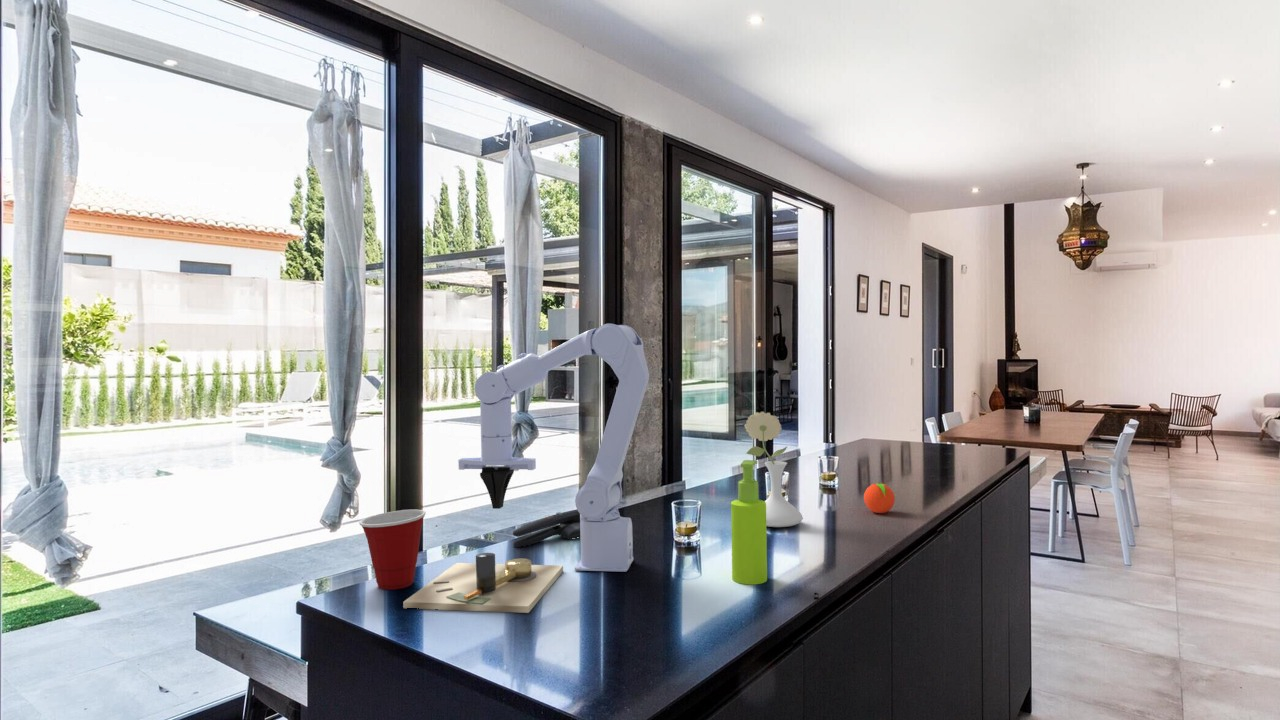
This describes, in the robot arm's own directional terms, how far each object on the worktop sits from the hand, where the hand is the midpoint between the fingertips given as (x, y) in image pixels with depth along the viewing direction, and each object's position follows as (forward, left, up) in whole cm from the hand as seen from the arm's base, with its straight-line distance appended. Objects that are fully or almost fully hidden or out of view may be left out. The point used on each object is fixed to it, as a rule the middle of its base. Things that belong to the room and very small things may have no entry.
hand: (497, 507), depth 141 cm
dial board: (-4, +17, -10) cm, 20 cm away
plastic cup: (+13, +16, -10) cm, 23 cm away
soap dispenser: (-47, +7, -10) cm, 49 cm away
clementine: (-77, -45, -10) cm, 90 cm away
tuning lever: (-6, +19, -8) cm, 21 cm away
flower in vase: (-52, -32, -10) cm, 62 cm away
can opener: (-6, -15, -10) cm, 19 cm away
